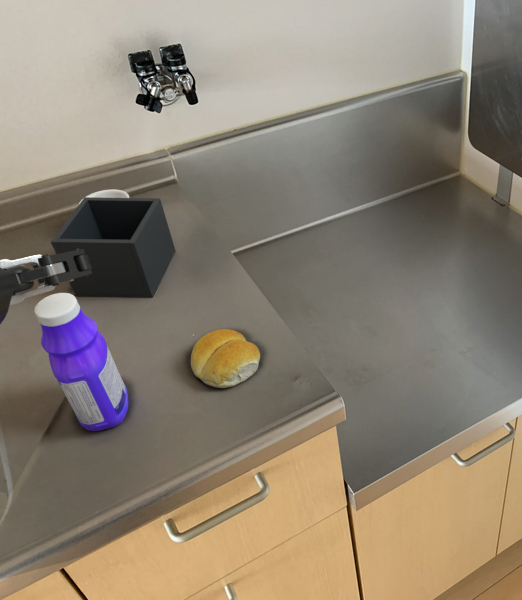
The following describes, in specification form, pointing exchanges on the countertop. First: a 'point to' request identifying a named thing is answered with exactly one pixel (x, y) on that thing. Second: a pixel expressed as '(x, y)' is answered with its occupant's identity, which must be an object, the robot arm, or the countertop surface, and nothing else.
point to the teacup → (108, 194)
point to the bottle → (82, 363)
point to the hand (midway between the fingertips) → (44, 274)
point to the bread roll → (224, 358)
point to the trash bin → (118, 245)
